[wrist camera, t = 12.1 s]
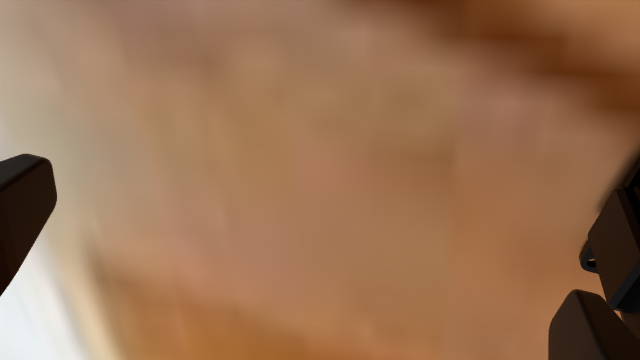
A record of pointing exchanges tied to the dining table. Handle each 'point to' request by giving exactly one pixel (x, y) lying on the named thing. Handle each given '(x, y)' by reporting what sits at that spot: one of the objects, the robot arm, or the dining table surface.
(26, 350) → the dining table surface
